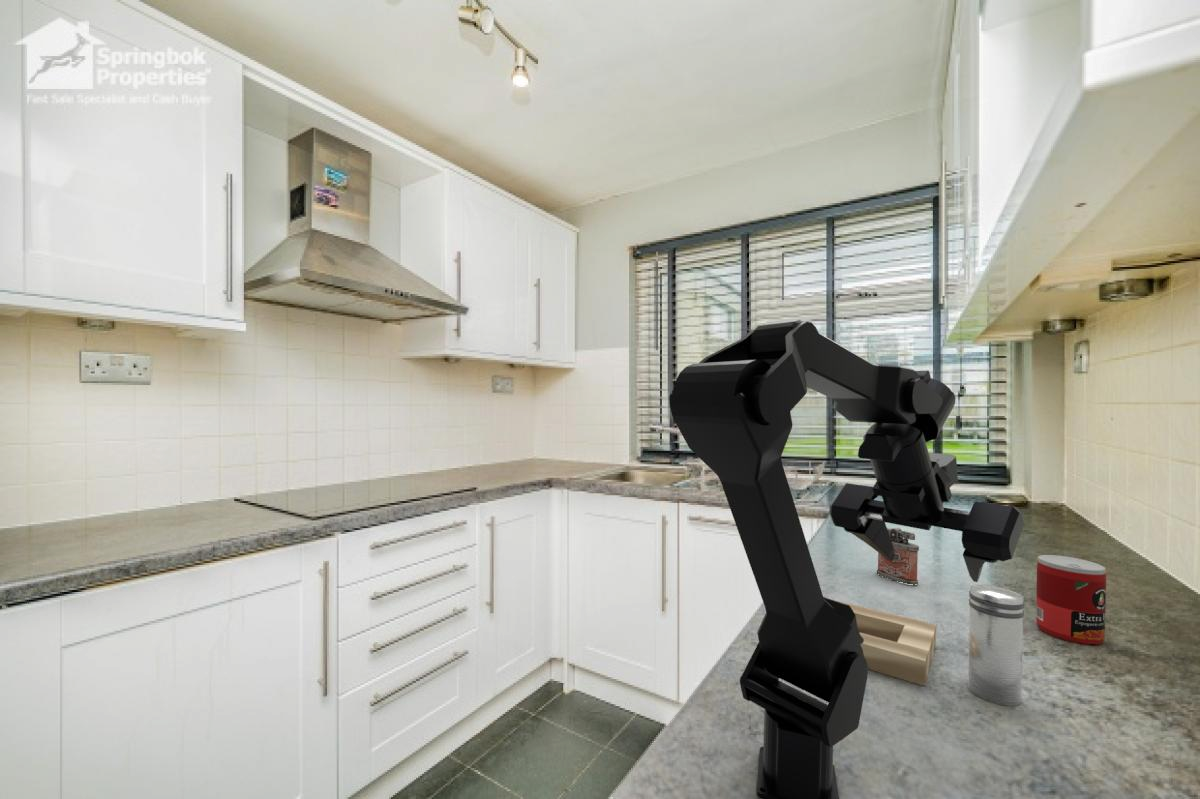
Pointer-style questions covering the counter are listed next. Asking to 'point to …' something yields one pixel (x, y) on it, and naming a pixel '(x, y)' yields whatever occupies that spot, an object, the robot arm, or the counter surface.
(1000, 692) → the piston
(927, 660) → the tan square ring
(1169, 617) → the counter surface
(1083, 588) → the canned food
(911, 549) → the lighter
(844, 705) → the robot arm
